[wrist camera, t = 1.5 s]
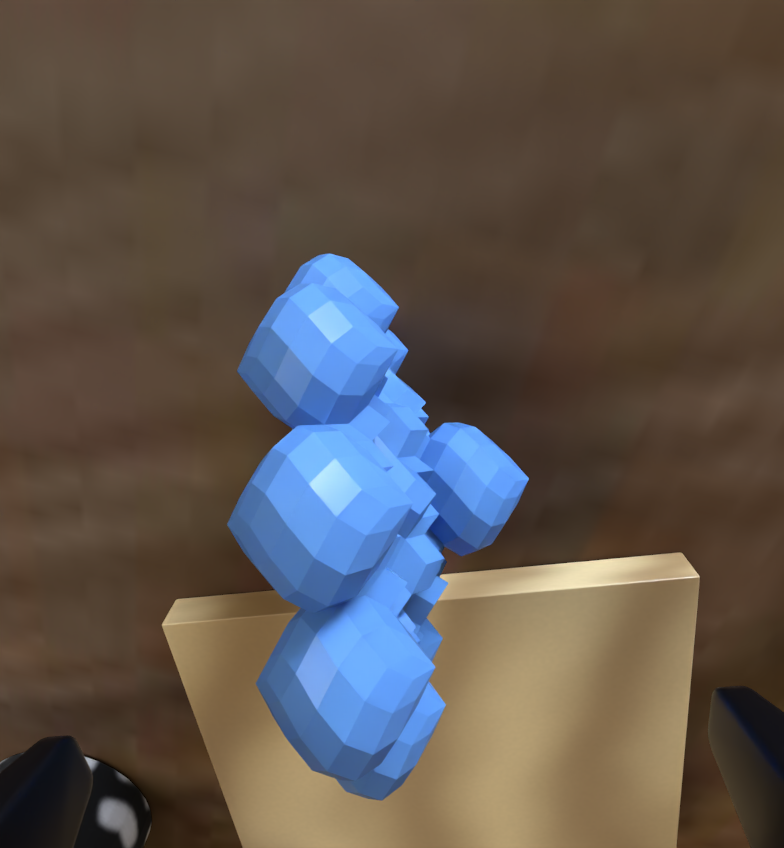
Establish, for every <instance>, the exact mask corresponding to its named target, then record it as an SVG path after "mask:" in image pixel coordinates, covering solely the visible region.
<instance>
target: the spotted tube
mask: <svg viewBox="0 0 784 848" xmlns="http://www.w3.org/2000/svg"><path fill="white" fill-rule="evenodd" d="M22 754H23V753H21V754H16V755H14V756H12V757H9V758H7V759H5V760H3V761H1V762H0V772H2V771H3V770H4V769H5V768H6V767H8V766H9V765H10V764H11V763H13V762H14V761H15V760H16V759H17V758H19V757H20V756H21V755H22ZM84 757H85V756H84ZM85 759H86V761H87V763H88V765H89V767H90V769H91V771H92V776H93V785H92V790H91V794H90V797H89V800H88V803H87V806H86V810H85V813H84V816H83V819H82V822H81V825H80V828H79V831H78V834H77V837H76V840H75V843H74V846H73V848H143V847H144V845H145V842H146V840H147V837H148V835H149V832H150V828H151V823H152V819H151V811H150V808H149V806H148V803H147V801H146V799H145V798H144V796H143V795H142V793H141V792H140V791H139V789H138V788H137V787H136V786H135V785H134V784H133V783H132V782H131V781H130V780H129V779H128V778H126V777H125V776H123V775H122V774H120V773H119V772H118V771H116V770H115V769H113V768H111V767H109V766H107V765H105V764H103V763H101V762H99V761H96V760H93V759H91V758H88V757H85Z"/></svg>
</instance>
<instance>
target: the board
mask: <svg viewBox="0 0 784 848" xmlns="http://www.w3.org/2000/svg"><path fill="white" fill-rule="evenodd" d="M440 578H442V579H443V580H445V581H446V582H448V585H447V586H446V588H445V589H444V591H443V593H442V594H441V596H440V597H439V599H438V601H437V602H436V604H435V605H434V607H433V608H432V610H431V611H430V613H429V614H428V616H427V619H428V620H429V621H430V622H431V624H432V625H433V626H434V628H435V629H436V630H437V631H438V633H439V634H440V635H441V637H442V638H443V640H442V642H441V644H440V646H439V648H438V650H437V652H436V655H435V657H434V659H433V661H432V663H433V664H434V666H435V669H434V671H433V673H432V676H431V678H430V680H429V682H430V683H431V685H432V686H433V687H434V689H435V690H436V692H437V693H438V694H439V696H440V697H441V698H442V700H443V701H444V703H445V704H446V706H445V708H444V711H443V713H442V715H441V717H440V719H439V722H438V724H437V726H436V728H435V731H434V733H433V735H432V737H431V739H430V741H429V742H428V744H427V746H426V748H425V750H424V752H423V753H422V755H421V757H420V759H419V761H418V762H417V764H416V766H415V767H414V769H413V770H412V772H411V773H410V774H409V776H408V777H407V779H406V780H405V782H404V783H403V785H402V786H400V787H399V788H398V789H397V790H395V791H394V792H393V793H391V794H390V795H389V796H387V797H386V798H385V799H383V800H382V801H380V800H373V799H367V798H364V797H361V796H358V795H354V794H351V793H348V792H346V791H345V790H344V789H343V788H342V786H341V785H340V784H339V783H338V781H337V780H336V779H335V778H332V777H329V776H326V775H324V774H321V773H318V772H315V771H312V770H311V769H310V767H309V766H308V765H307V764H306V762H305V761H304V760H303V759H302V757H301V756H300V755H299V754H298V752H297V751H296V750H295V749H294V748H293V746H292V745H291V744H290V743H289V741H288V740H287V739H286V737H285V735H284V734H283V732H282V731H281V729H280V727H279V726H278V724H277V722H276V721H275V719H274V717H273V716H272V714H271V712H270V710H269V708H268V706H267V704H266V702H265V701H264V699H263V697H262V695H261V693H260V691H259V689H258V687H257V685H256V682H257V680H258V678H259V676H260V674H261V672H262V670H263V669H264V667H265V665H266V663H267V661H268V659H269V657H270V656H271V654H272V652H273V650H274V648H275V646H276V644H277V643H278V641H279V639H280V637H281V635H282V633H283V632H284V630H285V628H286V626H287V624H288V623H289V621H290V620H291V619H292V618H293V617H294V615H295V614H296V613H297V612H298V611H299V609H300V607H298V606H296V605H294V604H292V603H290V602H288V601H286V600H284V599H283V598H282V597H281V596H280V595H279V594H278V593H277V591H276V590H271V591H261V592H250V593H239V594H228V595H217V596H207V597H196V598H185V599H177V600H176V601H175V602H174V604H173V606H172V608H171V609H170V611H169V613H168V615H167V616H166V618H165V620H164V622H163V623H162V627H163V630H164V633H165V636H166V638H167V641H168V644H169V646H170V649H171V652H172V655H173V657H174V660H175V663H176V666H177V668H178V671H179V674H180V677H181V679H182V682H183V685H184V688H185V690H186V693H187V696H188V699H189V701H190V704H191V707H192V710H193V712H194V715H195V718H196V721H197V723H198V726H199V729H200V732H201V734H202V737H203V740H204V743H205V745H206V748H207V751H208V754H209V756H210V759H211V762H212V765H213V767H214V770H215V773H216V776H217V778H218V781H219V784H220V787H221V789H222V792H223V795H224V798H225V800H226V803H227V806H228V809H229V811H230V814H231V817H232V820H233V822H234V825H235V828H236V831H237V833H238V836H239V839H240V842H241V844H242V847H243V848H676V845H677V834H678V822H679V811H680V799H681V788H682V776H683V765H684V753H685V742H686V730H687V719H688V707H689V696H690V684H691V673H692V662H693V650H694V639H695V627H696V616H697V604H698V593H699V581H700V576H699V575H698V574H697V572H696V571H695V570H694V568H693V567H692V566H691V564H690V563H689V562H688V560H687V559H686V558H685V556H684V555H683V554H682V553H670V554H659V555H648V556H637V557H627V558H616V559H605V560H594V561H584V562H573V563H562V564H551V565H541V566H530V567H519V568H508V569H497V570H487V571H476V572H465V573H454V574H444V575H440Z"/></svg>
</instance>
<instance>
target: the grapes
mask: <svg viewBox="0 0 784 848" xmlns="http://www.w3.org/2000/svg"><path fill="white" fill-rule="evenodd" d="M398 308H399V307H398V305H397V304H396V303H395V302H394V301H393V300H392V299H391V298H390V296H389V295H388V294H387V293H386V292H385V291H384V290H383V289H382V287H380V286H379V285H378V284H377V283H376V282H375V281H374V280H373V279H372V278H370V277H369V276H368V275H367V274H366V273H365V272H364V271H363V270H361V269H360V268H359V267H358V266H357V265H355V264H354V263H353V262H352V261H350V260H349V259H348V258H344V257H341V256H337V255H333V254H324V255H318V256H317V257H315V258H313V259H312V260H310V261H308V262H307V263H305V264H303V265H302V266H301V267H300V269H299V270H298V272H297V273H296V275H295V277H294V278H293V280H292V281H291V283H290V285H289V286H288V288H287V289H286V291H285V293H284V294H283V295H281V296H279V297H278V298H277V299H276V300H275V302H274V303H273V305H272V306H271V308H270V310H269V311H268V313H267V314H266V316H265V317H264V319H263V321H262V322H261V324H260V325H259V327H258V329H257V331H256V332H255V334H254V336H253V338H252V339H251V341H250V343H249V345H248V347H247V350H246V352H245V354H244V357H243V359H242V361H241V363H240V366H239V368H238V370H237V372H238V373H239V374H240V376H241V377H242V378H243V379H244V381H245V382H246V383H247V384H248V386H249V387H250V388H251V390H252V391H253V392H254V393H255V394H256V396H257V397H258V398H259V399H260V400H261V401H262V403H263V404H264V405H265V406H266V407H267V409H268V410H269V411H270V412H271V413H272V414H273V416H275V417H276V418H278V419H279V420H281V421H282V422H284V423H285V424H287V425H288V426H290V427H291V428H293V429H292V431H291V432H290V433H289V434H287V435H286V436H285V437H284V438H283V439H282V440H281V441H279V442H278V443H277V444H276V445H275V446H274V447H273V448H272V449H271V450H270V451H269V452H268V454H267V455H266V456H265V457H264V458H263V460H262V461H261V462H260V464H259V465H258V467H257V469H256V471H255V472H254V474H253V476H252V477H251V479H250V481H249V482H248V484H247V486H246V487H245V489H244V491H243V493H242V494H241V496H240V498H239V500H238V502H237V505H236V507H235V509H234V511H233V513H232V515H231V517H230V519H229V522H228V524H227V525H228V527H229V529H230V530H231V532H232V534H233V535H234V537H235V539H236V540H237V542H238V544H239V545H240V547H241V548H242V550H243V552H244V553H245V554H246V556H247V557H248V558H249V559H250V561H251V562H252V563H253V564H254V565H255V567H256V568H257V569H258V570H259V571H260V573H261V574H262V575H263V576H264V578H265V579H266V580H267V581H268V582H269V584H270V585H271V586H272V587H273V588H274V589H275V590H276V591H277V593H278V594H279V595H280V596H281V597H282V598H283V599H284V600H286V601H288V602H290V603H292V604H294V605H296V606H298V607H300V609H299V611H298V612H297V613H296V614H295V615H294V617H293V618H292V619H291V620H290V621H289V623H288V624H287V626H286V628H285V630H284V632H283V633H282V635H281V637H280V639H279V641H278V643H277V644H276V646H275V648H274V650H273V652H272V654H271V656H270V657H269V659H268V661H267V663H266V665H265V667H264V669H263V670H262V672H261V674H260V676H259V678H258V680H257V682H256V685H257V687H258V689H259V691H260V693H261V695H262V697H263V699H264V701H265V702H266V704H267V706H268V708H269V710H270V712H271V714H272V716H273V717H274V719H275V721H276V722H277V724H278V726H279V727H280V729H281V731H282V732H283V734H284V735H285V737H286V739H287V740H288V741H289V743H290V744H291V745H292V746H293V748H294V749H295V750H296V751H297V752H298V754H299V755H300V756H301V757H302V759H303V760H304V761H305V762H306V764H307V765H308V766H309V767H310V769H311V770H312V771H315V772H318V773H321V774H324V775H326V776H329V777H332V778H335V779H336V780H337V781H338V783H339V784H340V785H341V786H342V788H343V789H344V790H345V791H346V792H348V793H351V794H354V795H358V796H361V797H364V798H367V799H373V800H380V801H382V800H383V799H385V798H386V797H387V796H389V795H390V794H391V793H393V792H394V791H395V790H397V789H398V788H399V787H400V786H402V785H403V783H404V782H405V780H406V779H407V777H408V776H409V774H410V773H411V772H412V770H413V769H414V767H415V766H416V764H417V762H418V761H419V759H420V757H421V755H422V753H423V752H424V750H425V748H426V746H427V744H428V742H429V741H430V739H431V737H432V735H433V733H434V731H435V728H436V726H437V724H438V722H439V719H440V717H441V715H442V713H443V711H444V708H445V706H446V704H445V703H444V701H443V700H442V698H441V697H440V696H439V694H438V693H437V692H436V690H435V689H434V687H433V686H432V685H431V683H430V682H429V680H430V678H431V676H432V673H433V671H434V669H435V666H434V664H433V663H432V661H433V659H434V657H435V655H436V652H437V650H438V648H439V646H440V644H441V642H442V640H443V638H442V637H441V635H440V634H439V633H438V631H437V630H436V629H435V628H434V626H433V625H432V624H431V622H430V621H429V620H428V619H427V616H428V614H429V613H430V611H431V610H432V608H433V607H434V605H435V604H436V602H437V601H438V599H439V597H440V596H441V594H442V593H443V591H444V589H445V588H446V586H447V585H448V582H446V581H445V580H443V579H442V578H440V575H441V573H442V571H443V569H444V567H445V565H446V562H447V561H446V560H445V559H444V557H443V556H442V555H441V553H442V551H443V549H444V547H446V548H448V549H449V550H451V551H453V552H455V553H456V554H458V555H460V556H463V555H466V554H469V553H472V552H475V551H478V550H480V549H482V548H484V547H487V546H489V545H491V544H492V543H493V542H494V540H495V538H496V537H497V535H498V534H499V532H500V531H501V529H502V528H503V526H504V524H505V523H506V521H507V520H508V518H509V517H510V515H511V513H512V512H513V510H514V508H515V507H516V505H517V504H518V501H519V499H520V497H521V495H522V493H523V491H524V488H525V486H526V484H527V482H528V480H529V478H528V477H527V476H526V475H525V474H524V473H523V471H522V470H521V469H520V468H519V467H518V466H517V465H516V463H515V462H514V461H513V460H512V459H511V458H510V457H509V456H508V455H507V454H506V453H505V452H504V451H503V450H501V449H500V448H499V447H498V446H497V445H496V444H495V443H494V442H493V441H492V440H490V439H489V438H488V437H487V436H486V435H484V434H483V433H482V432H481V431H480V430H478V429H477V428H476V427H474V426H470V425H466V424H462V423H459V422H458V423H443V424H442V425H441V426H440V427H438V428H437V429H436V430H434V431H433V432H432V433H429V431H428V428H427V427H426V426H425V423H426V421H427V419H428V418H429V417H428V416H427V414H426V413H425V412H424V411H423V410H422V409H421V408H422V407H423V405H424V404H425V403H426V402H425V401H424V400H423V399H422V398H421V397H420V396H419V395H418V394H417V393H416V392H415V391H413V390H412V389H411V388H410V387H409V386H408V385H407V384H406V383H404V382H403V381H402V380H401V379H399V378H398V377H397V376H396V373H397V371H398V369H399V367H400V366H401V364H402V362H403V360H404V358H405V356H406V354H407V352H408V349H407V348H406V347H405V346H404V345H403V344H402V343H401V341H400V340H399V339H398V338H397V337H396V336H395V335H394V334H393V333H392V332H391V331H390V330H389V329H388V328H389V326H390V324H391V322H392V320H393V318H394V316H395V314H396V312H397V310H398Z"/></svg>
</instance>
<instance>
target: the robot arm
mask: <svg viewBox="0 0 784 848" xmlns="http://www.w3.org/2000/svg"><path fill="white" fill-rule="evenodd" d="M708 738H709V743H710V746H711V749H712V752H713V755H714V757H715V760H716V762H717V765H718V767H719V770H720V772H721V775H722V777H723V780H724V782H725V785H726V787H727V789H728V792H729V794H730V797H731V799H732V802H733V804H734V807H735V809H736V812H737V814H738V817H739V819H740V822H741V824H742V827H743V829H744V832H745V834H746V837H747V839H748V842H749V844H750V847H751V848H784V712H782V711H781V710H780V709H778V708H777V707H776V706H774V705H773V704H772V703H770V702H769V701H767V700H766V699H765V698H763V697H762V696H761V695H759V694H758V693H757V692H755V691H754V690H752V689H750V688H748V687H746V686H730V687H718V688H716V689H715V690H714V691H713V692H712V696H711V706H710V715H709V724H708ZM92 785H93V776H92V771H91V769H90V767H89V765H88V763H87V761H86V759H85V757H84V754H83V752H82V750H81V748H80V746H79V744H78V742H77V740H76V739H75V738H74V737H72V736H55V737H47V738H44V739H41V740H40V741H38V742H37V743H36V744H34V745H33V746H32V747H31V748H29V749H28V750H27V751H26V752H25V753H23V754H22V755H21V756H20V757H19V758H17V759H16V760H15V761H14V762H13V763H11V764H10V765H9V766H8V767H6V768H5V769H4V770H3V771H2V772H0V848H73V846H74V843H75V840H76V837H77V834H78V831H79V828H80V825H81V822H82V819H83V816H84V813H85V810H86V806H87V803H88V800H89V797H90V794H91V790H92Z"/></svg>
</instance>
